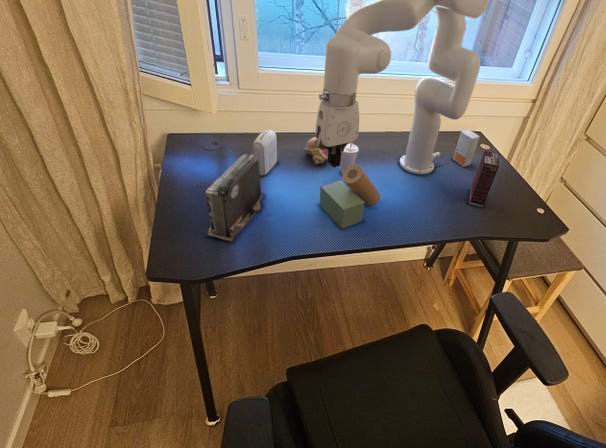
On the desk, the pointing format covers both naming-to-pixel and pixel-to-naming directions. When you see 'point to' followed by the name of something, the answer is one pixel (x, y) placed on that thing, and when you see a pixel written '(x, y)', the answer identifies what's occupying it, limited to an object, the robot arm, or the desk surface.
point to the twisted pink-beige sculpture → (316, 151)
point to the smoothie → (348, 156)
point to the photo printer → (265, 151)
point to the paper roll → (361, 185)
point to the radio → (234, 198)
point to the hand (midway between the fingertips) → (333, 164)
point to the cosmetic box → (466, 147)
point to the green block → (341, 204)
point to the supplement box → (484, 178)
